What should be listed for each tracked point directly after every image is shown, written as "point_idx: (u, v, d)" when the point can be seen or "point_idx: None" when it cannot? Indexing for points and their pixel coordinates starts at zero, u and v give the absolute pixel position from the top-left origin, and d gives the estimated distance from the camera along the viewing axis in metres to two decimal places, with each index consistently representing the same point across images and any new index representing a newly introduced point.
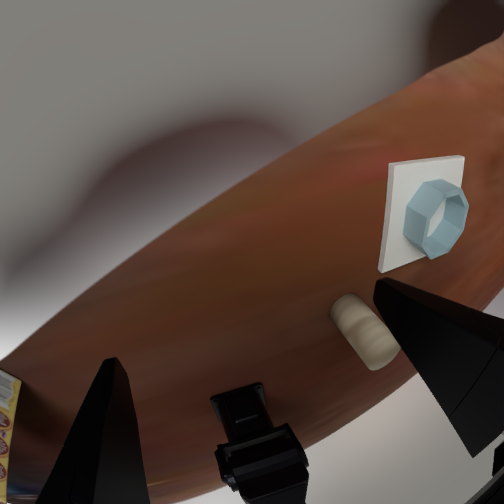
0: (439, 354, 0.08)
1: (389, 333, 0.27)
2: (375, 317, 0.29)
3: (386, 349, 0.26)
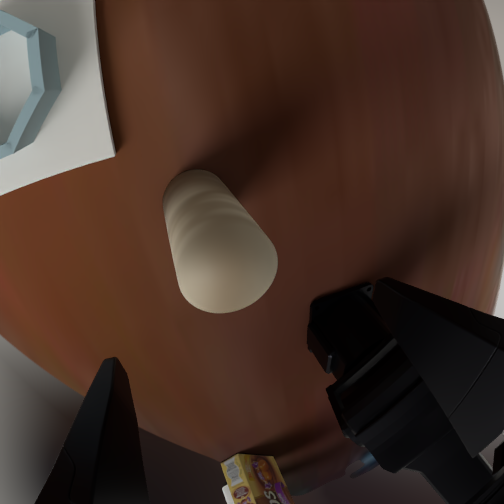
0: (439, 354, 0.08)
1: (175, 251, 0.12)
2: (170, 222, 0.14)
3: (201, 284, 0.12)
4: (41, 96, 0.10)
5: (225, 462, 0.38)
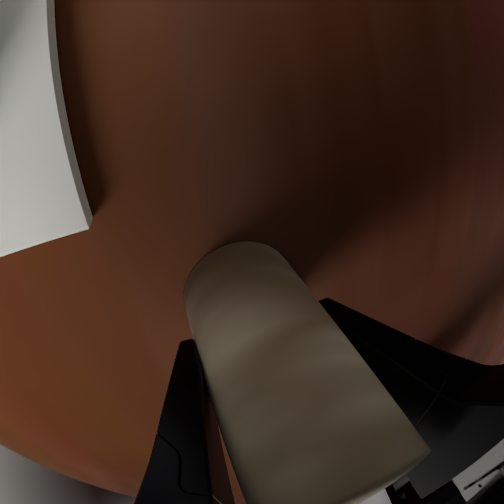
0: None
1: (247, 483, 0.05)
2: (216, 385, 0.07)
3: None
4: None
5: None
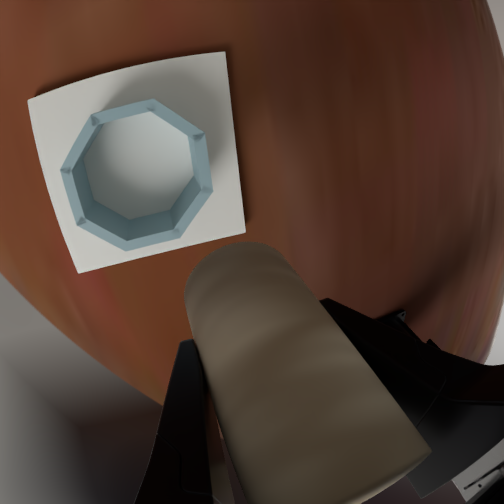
0: None
1: (249, 484, 0.05)
2: (217, 385, 0.07)
3: None
4: (209, 195, 0.16)
5: None
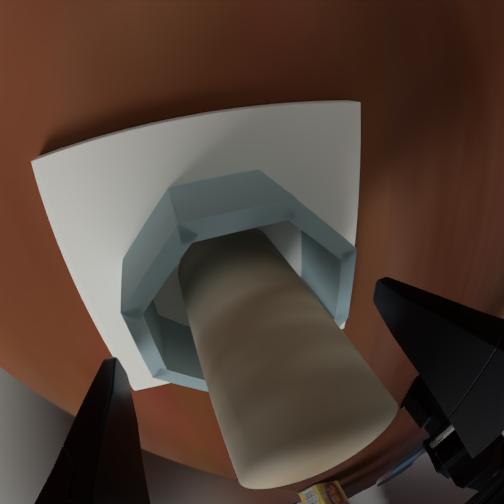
0: (439, 354, 0.08)
1: (227, 426, 0.06)
2: (203, 342, 0.08)
3: (276, 473, 0.06)
4: (341, 322, 0.12)
5: (303, 492, 0.40)
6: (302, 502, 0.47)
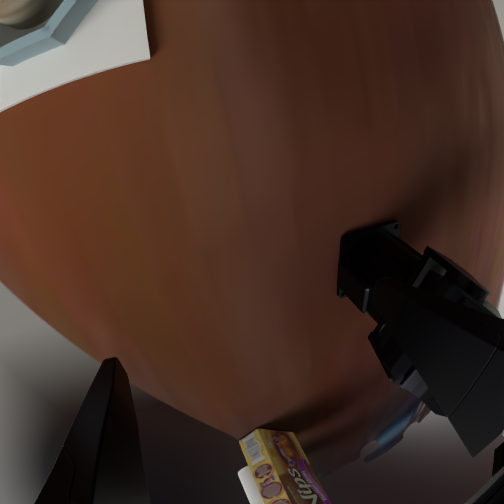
0: (439, 354, 0.08)
1: None
2: None
3: None
4: None
5: (244, 439, 0.37)
6: None
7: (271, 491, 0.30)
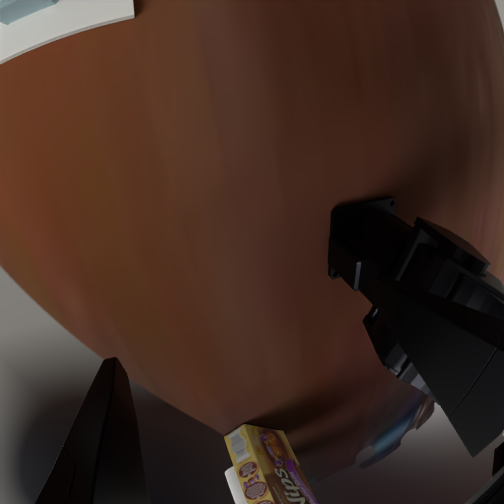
0: (439, 354, 0.08)
1: None
2: None
3: None
4: None
5: (229, 435, 0.35)
6: None
7: (255, 491, 0.28)
